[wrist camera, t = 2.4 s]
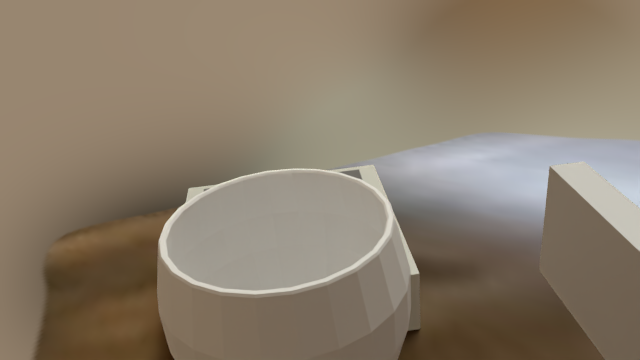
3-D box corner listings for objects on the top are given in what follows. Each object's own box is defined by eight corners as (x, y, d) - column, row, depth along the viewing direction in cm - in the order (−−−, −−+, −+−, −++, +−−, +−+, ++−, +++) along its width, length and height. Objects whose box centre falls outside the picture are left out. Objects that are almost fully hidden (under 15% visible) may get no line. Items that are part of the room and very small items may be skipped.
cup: (410, 388, 35) (404, 158, 28) (421, 579, 25) (416, 304, 19) (235, 387, 36) (187, 167, 29) (184, 568, 27) (97, 308, 20)
